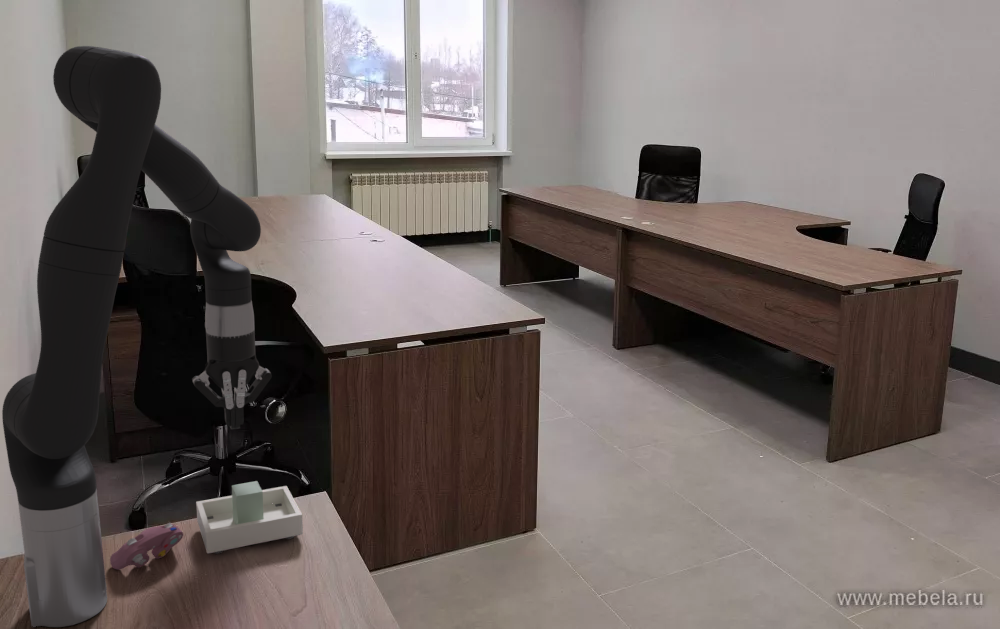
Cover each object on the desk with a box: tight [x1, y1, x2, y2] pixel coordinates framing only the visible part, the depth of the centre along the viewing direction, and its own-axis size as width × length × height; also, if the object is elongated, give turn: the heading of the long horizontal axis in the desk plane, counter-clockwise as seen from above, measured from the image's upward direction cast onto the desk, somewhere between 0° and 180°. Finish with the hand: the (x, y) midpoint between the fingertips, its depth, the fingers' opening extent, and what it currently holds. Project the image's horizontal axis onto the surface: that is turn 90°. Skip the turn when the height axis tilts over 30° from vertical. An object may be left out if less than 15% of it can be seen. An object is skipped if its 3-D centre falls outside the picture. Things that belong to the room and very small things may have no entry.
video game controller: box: [109, 522, 184, 570], centre depth 125 cm, size 10×5×7 cm, turn 144°
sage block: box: [231, 480, 264, 525], centre depth 133 cm, size 4×4×6 cm
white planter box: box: [195, 485, 304, 555], centre depth 133 cm, size 15×11×5 cm
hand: (234, 427), depth 139 cm, fingers closed
